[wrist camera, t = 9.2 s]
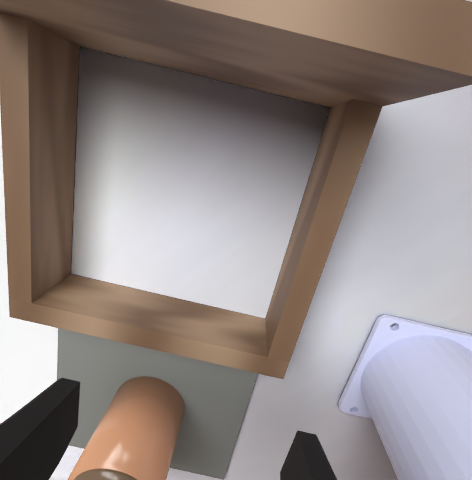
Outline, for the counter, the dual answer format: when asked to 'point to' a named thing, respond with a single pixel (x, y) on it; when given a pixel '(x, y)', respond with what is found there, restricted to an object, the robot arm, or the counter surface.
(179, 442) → the slate mat
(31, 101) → the potting tray
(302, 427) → the counter surface
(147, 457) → the peach orange cylinder
